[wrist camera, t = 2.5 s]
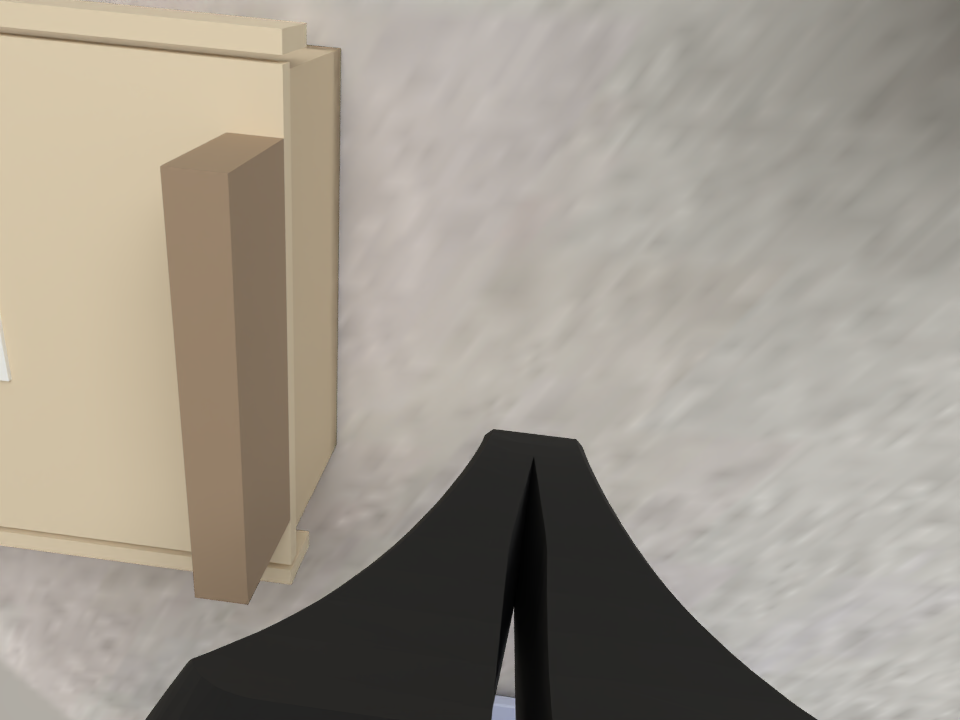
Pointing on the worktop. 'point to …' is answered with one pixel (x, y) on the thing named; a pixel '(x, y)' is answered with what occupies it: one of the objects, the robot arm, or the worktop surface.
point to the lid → (148, 293)
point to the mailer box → (301, 241)
